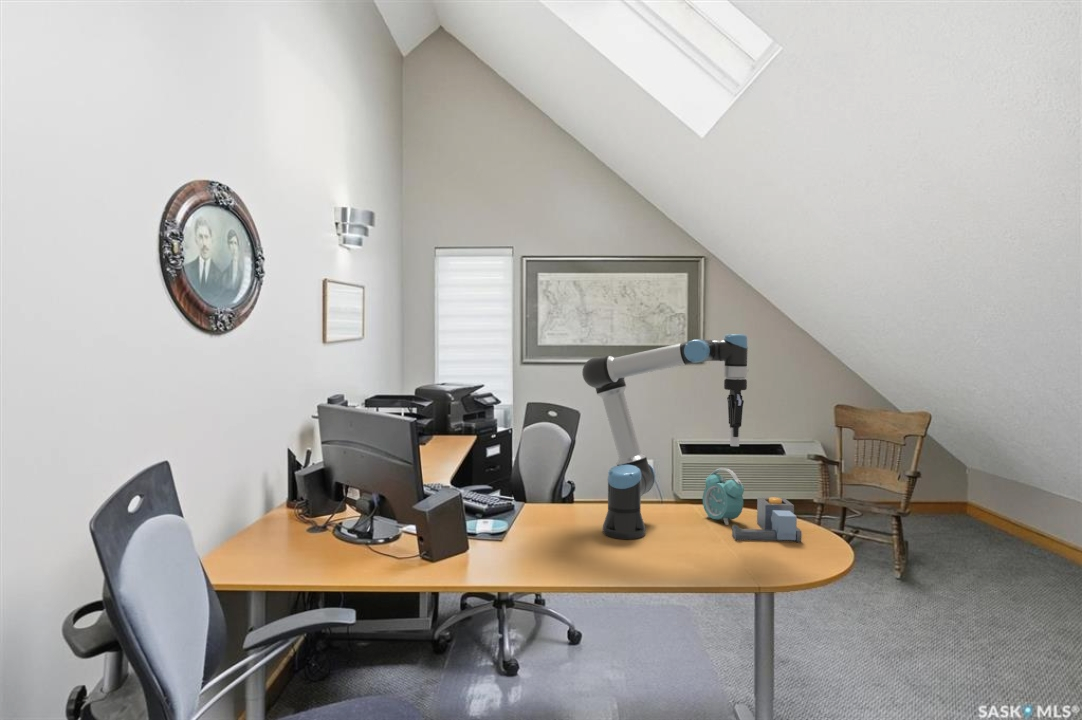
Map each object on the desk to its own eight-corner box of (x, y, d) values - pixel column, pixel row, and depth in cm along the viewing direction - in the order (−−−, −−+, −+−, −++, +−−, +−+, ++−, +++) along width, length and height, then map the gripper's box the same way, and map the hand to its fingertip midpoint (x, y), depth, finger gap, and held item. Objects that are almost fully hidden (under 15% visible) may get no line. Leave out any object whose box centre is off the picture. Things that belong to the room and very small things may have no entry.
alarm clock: (697, 515, 236) (698, 465, 235) (716, 512, 240) (717, 463, 239) (728, 527, 220) (729, 474, 220) (748, 524, 224) (748, 471, 224)
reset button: (770, 509, 218) (771, 500, 218) (767, 506, 222) (767, 497, 222) (783, 510, 217) (783, 500, 217) (779, 506, 222) (779, 497, 222)
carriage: (778, 540, 204) (778, 516, 204) (771, 533, 211) (772, 510, 211) (796, 540, 203) (796, 516, 203) (789, 534, 210) (789, 510, 210)
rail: (735, 540, 206) (735, 529, 206) (732, 536, 211) (732, 524, 211) (801, 542, 204) (801, 531, 204) (796, 537, 209) (796, 526, 209)
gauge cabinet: (765, 532, 215) (766, 505, 214) (757, 523, 225) (757, 497, 225) (794, 533, 214) (794, 505, 214) (784, 524, 225) (784, 498, 224)
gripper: (751, 379, 201) (750, 449, 202) (741, 377, 214) (740, 442, 215) (729, 379, 201) (728, 449, 202) (720, 377, 214) (719, 442, 215)
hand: (734, 445), depth 208 cm, fingers closed
